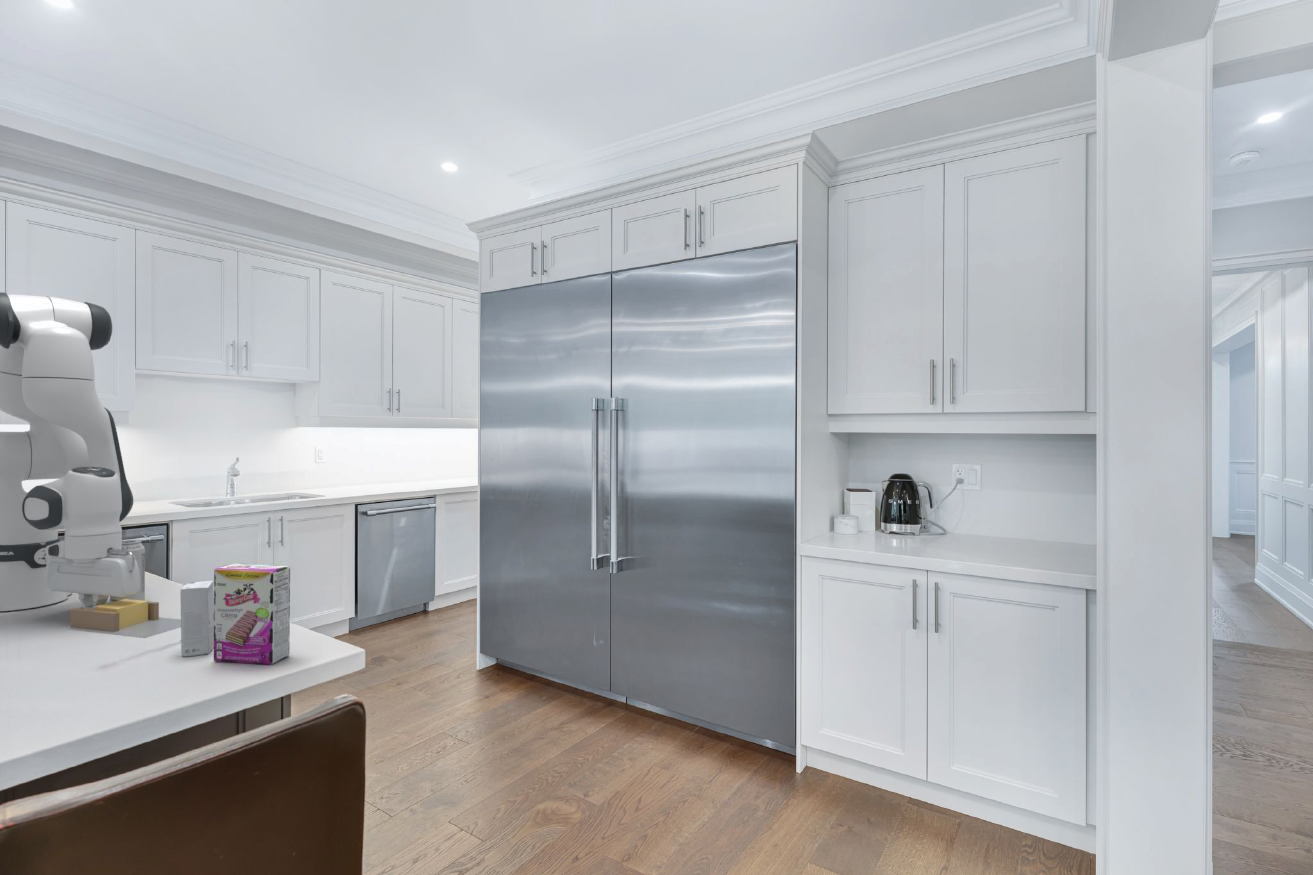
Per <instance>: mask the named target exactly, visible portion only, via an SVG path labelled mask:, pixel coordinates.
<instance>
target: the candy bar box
mask: <svg viewBox="0 0 1313 875" xmlns="http://www.w3.org/2000/svg"><path fill="white" fill-rule="evenodd" d="M213 575H214V577H213V580H214V581H213V591H214V647H213V662H222V663H223V662H225V663H240V664H255V665H256V664H257V665H274V664H277V663H278V662H280V661H282V660H283V659H285V658H287V657H289V656H290V644H291V642H290V629H291V628H290V627H291V626H290V618H291V617H290V610H291V606H290V605H291V600H290V598H291V566H290V565H277V564H276V565H275V564H274V565H272V564H257V563H256V564H254V563H253V564H252V563H229V564H226V565H222V566H218V567H217V568H214V569H213Z"/></svg>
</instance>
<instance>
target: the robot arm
mask: <svg viewBox="0 0 1313 875" xmlns="http://www.w3.org/2000/svg"><path fill="white" fill-rule="evenodd" d="M113 330H114V329H113V322H112V318H111V315H110V313H109V311H108V310H107V309H106V308H104V307H103V306H100V305H98V304H95V303H91V302H87V301H85V302H80V301H78V300H73V299H72V300H71V299H67V298H61V297H55V296H48V295H47V296H46V295H45V296H41V295H40V296H39V295H32V294H29V295H28V294H14V293H13V294H11V293H9V294H7V292H0V411H2V412H3V413H5V414H7V415H10V416H11V417H14V418H17V419H20V420H23V421H26V422H27V423H28V424H29V430H28V431H26V430H25V431H0V612H8V611H10V612H11V611H20V610H27V609H33V608H39V607H43V606H49V605H53V604H56V603H60V602H62V601H65V600H67V599H68V596H70V595H72V594H73V593H74V594H78V600H79V602H80V604H81V606H82V608H83V609H90V610H94V606H99V605H103V604H107V603H108V602H107V601H108V600H109V599H110V596H115V597H125V596H129V595H133V594H136V593H137V592H138V591H139V589H140V576H139V569H138V564H137V561H136V560H135V556H134V555H133V554H132V553H131V552H130V551H129V550H127V549H122V541H123V529H122V526H121V522H122V521H123V520H124V519H125V518H126V517H127V516H128V515H129V513H130V512H131V511H132V509H133V506H134V496H133V492H132V489H131V487H130V485H129V481H128V479H127V477H126V471H125V467H124V461H123V456H122V451H121V446H120V441H119V437H118V432H117V427H116V426H117V425H116V423H115V420H114V417H113V414H112V413H111V411H110V410H109V409H108V408H106V407H105V406H104V405H103V404H102V402H101V401H100V398H99V397H98V394H97V389H96V385H95V383H96V382H95V380H96V379H95V366H94V361H93V359H94V358H93V354H92V351H96V350H100V349H103V348H104V347H105V346H107V345H108V344H109V343H110V340H111V339H112V338H111V337H112V335H113ZM28 480H29V481H31V480H34V481H36V480H54V481H51V482H48V483H44V484H40V485H36V486H34V487H32V488H31V489H30V490H29V491H26V490H25V489H24V488H23V481H24V482H25V481H28ZM63 529H64V530H65V532H64V540H61V539H60V538H59V530H63ZM128 554H129V555H128Z"/></svg>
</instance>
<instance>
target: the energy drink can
mask: <svg viewBox="0 0 1313 875" xmlns="http://www.w3.org/2000/svg"><path fill="white" fill-rule="evenodd" d="M122 549H127V550H129V551H130V552H131V553H132V554H133V555H134V556H135V560H136V561H137V564H138V569H139V576H140V589H139V591H138V592H137V593H136V594H133V595H129V596H125V597H115V596H109V603H111V602H112V599H117V598H120V599H130V600H141V601H146V598H145V596H146V592H145V591H146V590H145V588H146V586H145V585H146V581H145V580H146V561H145V560H146V548H145V546H144V545H143V543H142V539H141V540H140V539H129V540H127V539H125V540H122ZM128 555H129V554H128Z"/></svg>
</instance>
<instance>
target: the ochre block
mask: <svg viewBox="0 0 1313 875" xmlns="http://www.w3.org/2000/svg"><path fill="white" fill-rule="evenodd" d="M94 610H100V611H110V612H119V629H121V628H124V627H128V626H131V625H135V624H138V623H142V622H145V621H148V600H145V601H141V600H130V599H123V600H119V601H115V602H111V603H110V602H106V603H105V604H103V605H99V606H94Z"/></svg>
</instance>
